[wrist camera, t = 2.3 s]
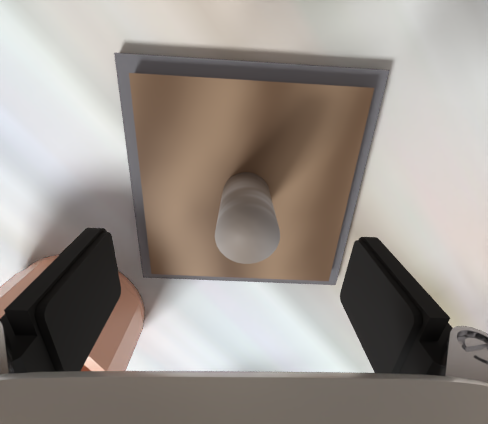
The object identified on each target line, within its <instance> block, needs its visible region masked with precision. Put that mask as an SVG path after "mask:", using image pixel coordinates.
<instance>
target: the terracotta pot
mask: <svg viewBox="0 0 488 424" xmlns="http://www.w3.org/2000/svg"><path fill="white" fill-rule="evenodd" d="M58 256H59V255H55V256H50V257H46V258H43V259H40V260H38V261H36V262H35V263H33V264H31V265H30V266H29V267H28V268H27V269H25V270H23V271H21V272H19V273H17V274H15V275H14V276H13V277H12V278H11V279H9V280H8V281H7V282H6V283H5V284H3V285H2V286H1V287H0V318H1V317H2V316H3V315H4V314H5V312H4V309H5V308H6V307H7V306H8V305H10V304H11V303H12V302H13V301H14V300H15V299H16V298H17V297H18V296H19V295H20V294H21V293H22V292H23V291H24V290H25V289H26V288H27V287H28V286H29V285H30V284H31V283H32V282H33V281H34V280H35V279H36V278H37V277H38V276H39V275H40V274H41V273H42V272H43V271H44V270H45V269H46V268H47V267H48V266H49V265H50V264H51V263H52V262H53V261H54V260H55V259H56V258H57V257H58ZM118 274H119V279H120V284H121V295H120V298H119V300H118V302H117V304H116V306H115V307H114V309H113V311H112V313H111V315H110V317H109V319H108V321H107V322H106V324H105V326H104V328H103V330H102V332H101V334H100V336H99V337H98V339H97V341H96V343H95V345H94V347H93V349H92V351H91V352H90V354H89V356H88V358H87V360H86V362H85V364H84V366H83V367H82V369H81V371H125V370H126V368H127V366H128V363H129V361H130V358H131V356H132V353H133V351H134V349H135V346H136V344H137V341H138V339H139V336H140V334H141V332H142V329H143V321H144V316H145V309H144V304H143V301H142V298H141V296H140V294H139V292H138V290H137V289H136V288H135V286H134V285H133V284H132V283H131V282H130V281H129V280H128V279H127V278H126V277H125V276H124V275H123V274H121V273H120V272H119V271H118Z"/></svg>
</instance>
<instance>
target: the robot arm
mask: <svg viewBox="0 0 488 424" xmlns="http://www.w3.org/2000/svg"><path fill="white" fill-rule="evenodd" d="M120 295H121V284H120V279H119V274H118V268H117V263H116V258H115V252H114V247H113V241H112V236H111V234H110V233H109V232H107V231H106V230H105V229H104V228H87V229H85V230H84V231H83V232H82V233H81V234H80V235H79V236H78V237H77V238H76V239H75V240H74V241H73V242H72V243H71V244H70V245H69V246H68V247H67V248H66V249H65V250H64V251H63V252H62V253H61V254H60V255H59V256H58V257H57V258H56V259H55V260H54V261H53V262H52V263H51V264H50V265H49V266H48V267H47V268H46V269H45V270H44V271H43V272H42V273H41V274H40V275H39V276H38V277H37V278H36V279H35V280H34V281H33V282H32V283H31V284H30V285H29V286H28V287H27V288H26V289H25V290H24V291H23V292H22V293H21V294H20V295H19V296H18V297H17V298H16V299H15V300H14V301H13V302H12V303H11V304H10V305H8V306H7V307H6V308H5V309H4V312H5V314H4V315H3V316H2V317H1V318H0V424H488V334H487V333H485V332H483V331H481V330H478V329H475V328H472V327H467V326H456V327H454V328H452V327H451V326H450V325H449V323H448V321H449V319H450V317H449V316H448V315H447V314H446V313H445V312H444V311H443V310H442V309H441V307H440V306H439V305H438V304H437V303H436V302H435V301H434V300H433V299H432V297H431V296H430V295H429V294H428V293H427V292H426V291H425V290H424V289H423V288H422V286H421V285H420V284H419V283H418V282H417V281H416V280H415V279H414V278H413V276H412V275H411V274H410V273H409V272H408V271H407V270H406V269H405V268H404V267H403V265H402V264H401V263H400V262H399V261H398V260H397V259H396V258H395V257H394V256H393V254H392V253H391V252H390V251H389V250H388V249H387V248H386V247H385V246H384V244H383V243H382V242H381V241H380V240H379V239H378V238H376V237H361V238H360V239H359V240H357V241H355V242H354V245H353V249H352V253H351V256H350V260H349V264H348V267H347V271H346V274H345V278H344V282H343V285H342V289H341V293H340V299H341V303H342V305H343V307H344V309H345V311H346V313H347V315H348V318H349V320H350V322H351V324H352V326H353V328H354V330H355V332H356V334H357V336H358V338H359V341H360V343H361V345H362V347H363V349H364V351H365V353H366V355H367V357H368V359H369V361H370V364H371V366H372V368H373V370H374V372H375V373H338V372H244V371H81V369H82V367H83V366H84V364H85V362H86V360H87V358H88V356H89V354H90V352H91V351H92V349H93V347H94V345H95V343H96V341H97V339H98V337H99V336H100V334H101V332H102V330H103V328H104V326H105V324H106V322H107V321H108V319H109V317H110V315H111V313H112V311H113V309H114V307H115V306H116V304H117V302H118V300H119V298H120Z"/></svg>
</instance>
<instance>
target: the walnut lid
mask: <svg viewBox="0 0 488 424" xmlns="http://www.w3.org/2000/svg"><path fill="white" fill-rule="evenodd" d="M129 79H130V88H131V97H132V105H133V114H134V123H135V132H136V141H137V150H138V159H139V168H140V177H141V186H142V195H143V204H144V212H145V221H146V230H147V239H148V248H149V257H150V266H151V274H161V275H186V276H210V277H235V278H260V279H284V280H309V281H329V278H330V274H331V270H332V265H333V261H334V257H335V253H336V248H337V244H338V240H339V236H340V231H341V227H342V223H343V219H344V215H345V210H346V206H347V202H348V198H349V193H350V189H351V185H352V181H353V176H354V172H355V168H356V164H357V160H358V155H359V151H360V147H361V143H362V138H363V134H364V130H365V126H366V121H367V117H368V113H369V109H370V104H371V100H372V96H373V92H374V88H368V87H351V86H335V85H319V84H302V83H286V82H270V81H254V80H237V79H221V78H205V77H188V76H172V75H156V74H139V73H129Z"/></svg>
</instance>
